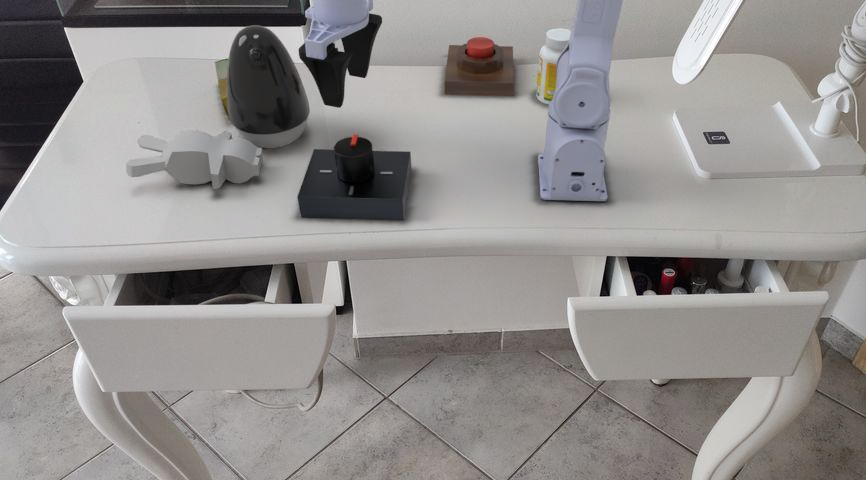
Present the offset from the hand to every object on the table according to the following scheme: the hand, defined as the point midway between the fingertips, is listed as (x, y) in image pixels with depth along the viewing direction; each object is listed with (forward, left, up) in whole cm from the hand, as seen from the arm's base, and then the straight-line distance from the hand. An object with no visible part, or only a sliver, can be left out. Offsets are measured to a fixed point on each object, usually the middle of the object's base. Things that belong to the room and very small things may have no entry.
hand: (346, 89), depth 86 cm
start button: (+23, -16, -6) cm, 29 cm away
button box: (+23, -16, -10) cm, 30 cm away
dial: (-8, -2, -7) cm, 10 cm away
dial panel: (-8, -2, -10) cm, 12 cm away
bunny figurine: (-5, +18, -10) cm, 21 cm away
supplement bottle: (+17, -27, -10) cm, 33 cm away
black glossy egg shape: (+4, +11, -10) cm, 16 cm away
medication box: (+13, +19, -10) cm, 25 cm away
